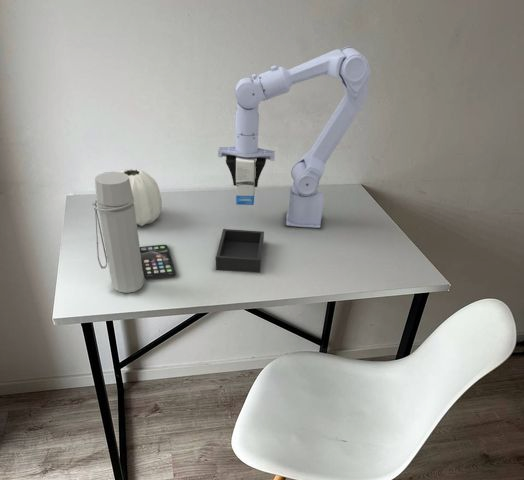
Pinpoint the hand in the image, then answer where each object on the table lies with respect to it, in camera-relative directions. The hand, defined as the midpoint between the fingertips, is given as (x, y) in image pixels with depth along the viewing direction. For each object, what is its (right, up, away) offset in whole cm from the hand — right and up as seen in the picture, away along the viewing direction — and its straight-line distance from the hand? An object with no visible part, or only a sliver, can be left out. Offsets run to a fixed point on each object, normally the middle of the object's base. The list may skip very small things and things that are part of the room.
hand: (245, 184), depth 138 cm
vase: (-30, -8, +4) cm, 31 cm away
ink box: (0, -3, +3) cm, 4 cm away
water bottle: (-27, -30, -21) cm, 45 cm away
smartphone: (-21, -23, -13) cm, 34 cm away
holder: (-1, -21, -9) cm, 22 cm away
